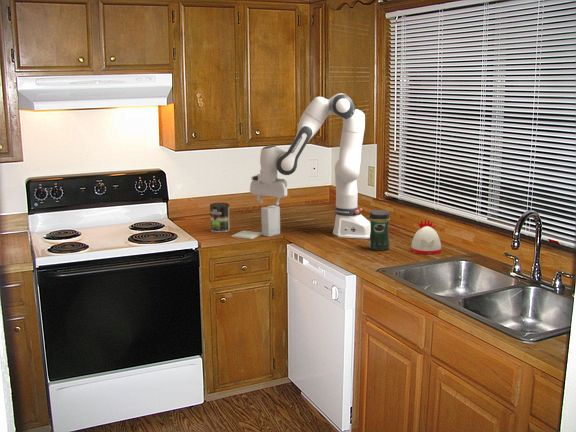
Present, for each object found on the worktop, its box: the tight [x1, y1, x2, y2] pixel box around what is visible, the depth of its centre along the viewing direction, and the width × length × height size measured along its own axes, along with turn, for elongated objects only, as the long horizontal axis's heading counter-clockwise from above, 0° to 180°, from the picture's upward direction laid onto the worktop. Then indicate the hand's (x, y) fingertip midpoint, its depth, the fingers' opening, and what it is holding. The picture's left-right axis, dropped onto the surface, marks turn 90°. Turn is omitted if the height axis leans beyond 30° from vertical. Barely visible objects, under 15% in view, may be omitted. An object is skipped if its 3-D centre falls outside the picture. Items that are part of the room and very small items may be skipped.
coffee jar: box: [368, 209, 391, 251], centre depth 308 cm, size 10×8×19 cm
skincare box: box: [260, 204, 281, 238], centre depth 336 cm, size 8×6×15 cm
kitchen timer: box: [410, 218, 442, 255], centre depth 304 cm, size 14×14×15 cm
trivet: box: [230, 230, 263, 240], centre depth 337 cm, size 12×12×1 cm
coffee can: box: [209, 202, 231, 233], centre depth 348 cm, size 10×10×14 cm
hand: (268, 204), depth 334 cm, fingers open, 8 cm apart
